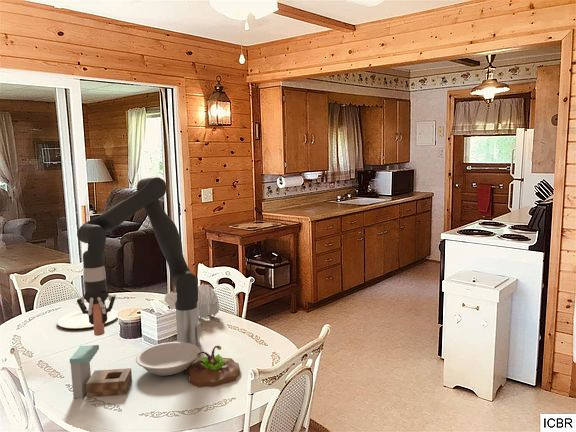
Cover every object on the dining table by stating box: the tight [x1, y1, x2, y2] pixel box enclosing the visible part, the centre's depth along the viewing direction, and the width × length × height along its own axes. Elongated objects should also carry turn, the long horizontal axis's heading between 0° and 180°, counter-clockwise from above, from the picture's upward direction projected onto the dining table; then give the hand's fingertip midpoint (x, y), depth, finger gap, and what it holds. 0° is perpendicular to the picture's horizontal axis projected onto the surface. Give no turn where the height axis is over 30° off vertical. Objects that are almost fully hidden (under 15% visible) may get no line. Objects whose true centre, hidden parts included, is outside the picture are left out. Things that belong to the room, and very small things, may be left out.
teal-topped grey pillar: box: [69, 344, 100, 399], centre depth 167 cm, size 6×11×14 cm, turn 6°
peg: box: [92, 304, 106, 337], centre depth 175 cm, size 4×4×12 cm
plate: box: [56, 308, 119, 330], centre depth 239 cm, size 29×29×2 cm
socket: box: [86, 367, 133, 398], centre depth 168 cm, size 13×10×5 cm
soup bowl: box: [135, 341, 201, 376], centre depth 182 cm, size 24×24×7 cm
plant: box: [186, 345, 241, 389], centre depth 178 cm, size 20×20×11 cm
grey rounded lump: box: [164, 282, 221, 320], centre depth 235 cm, size 18×18×25 cm
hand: (98, 322), depth 175 cm, fingers closed on peg, 3 cm apart
